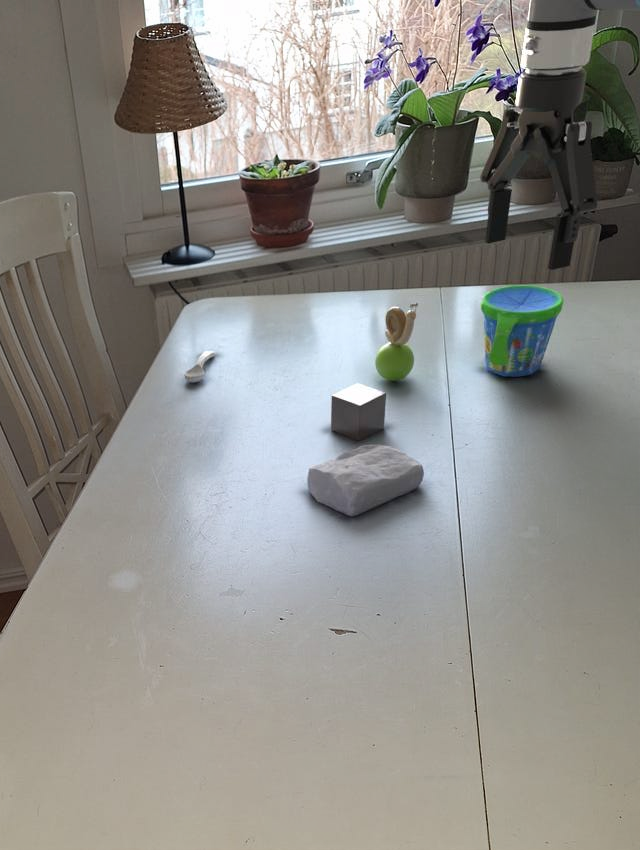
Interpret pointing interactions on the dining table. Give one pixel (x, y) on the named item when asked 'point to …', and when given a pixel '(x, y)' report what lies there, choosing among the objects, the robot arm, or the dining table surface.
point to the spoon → (198, 367)
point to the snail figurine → (397, 345)
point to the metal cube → (358, 411)
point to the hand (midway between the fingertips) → (525, 254)
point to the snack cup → (518, 327)
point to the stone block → (364, 478)
